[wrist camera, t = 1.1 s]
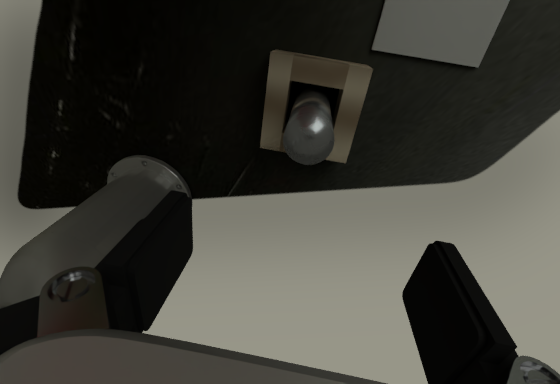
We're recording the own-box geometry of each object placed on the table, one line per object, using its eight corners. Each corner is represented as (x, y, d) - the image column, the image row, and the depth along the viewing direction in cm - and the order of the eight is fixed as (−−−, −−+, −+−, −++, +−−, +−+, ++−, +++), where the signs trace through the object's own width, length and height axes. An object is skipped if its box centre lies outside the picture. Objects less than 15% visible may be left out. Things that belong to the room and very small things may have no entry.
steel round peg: (325, 123, 34) (327, 168, 23) (292, 117, 34) (279, 160, 23) (332, 88, 32) (340, 120, 21) (298, 82, 32) (287, 111, 21)
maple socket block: (343, 150, 35) (345, 163, 32) (265, 136, 36) (259, 147, 32) (366, 64, 30) (373, 69, 27) (276, 49, 31) (270, 51, 27)
